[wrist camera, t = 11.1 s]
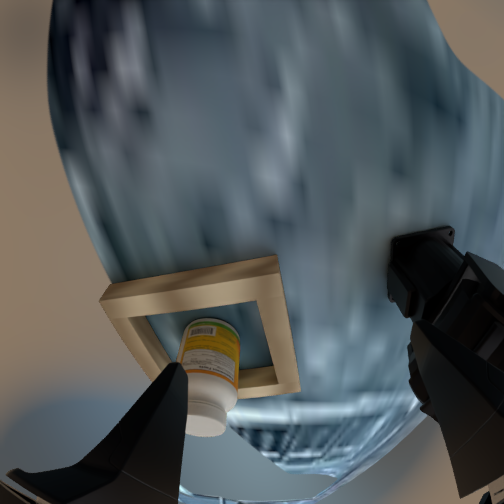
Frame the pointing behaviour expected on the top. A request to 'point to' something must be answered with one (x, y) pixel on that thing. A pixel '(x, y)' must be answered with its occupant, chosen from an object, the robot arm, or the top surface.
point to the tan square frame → (204, 296)
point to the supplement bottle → (210, 374)
